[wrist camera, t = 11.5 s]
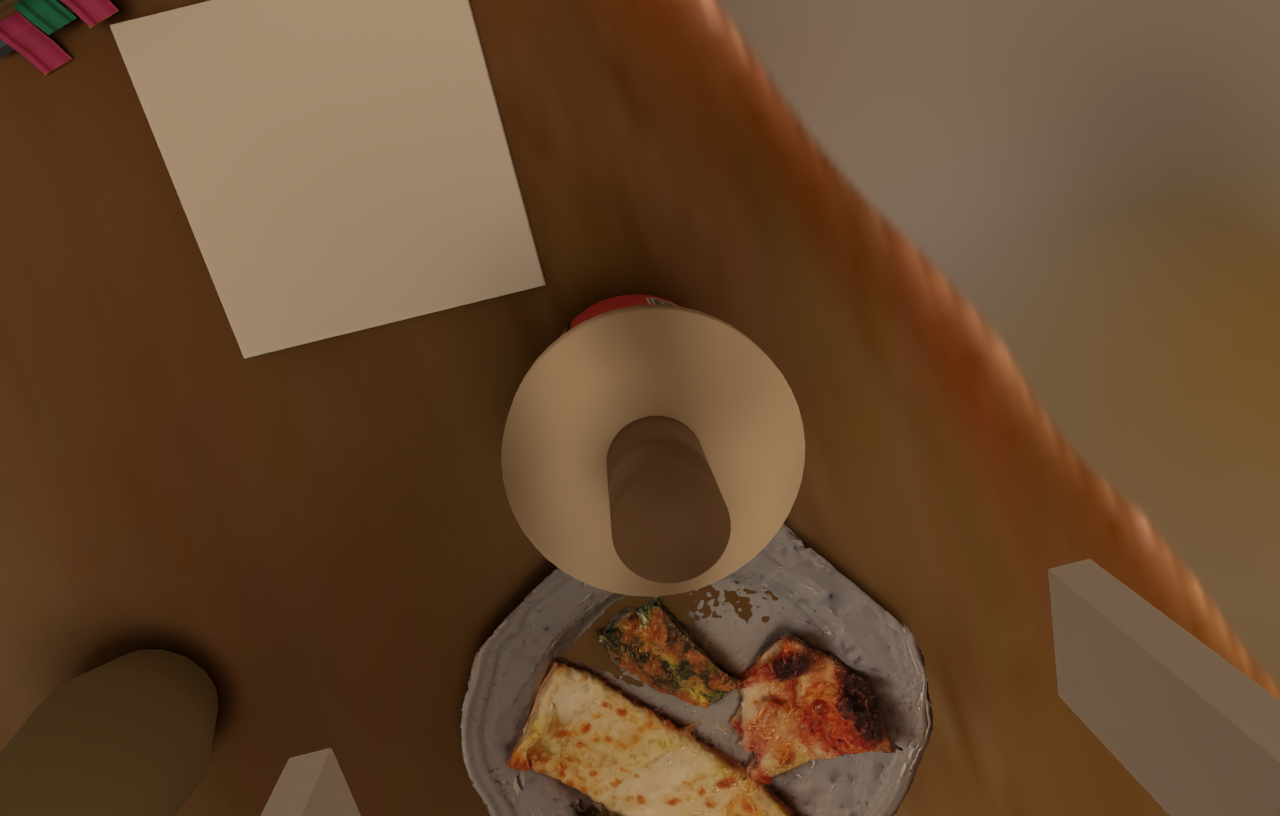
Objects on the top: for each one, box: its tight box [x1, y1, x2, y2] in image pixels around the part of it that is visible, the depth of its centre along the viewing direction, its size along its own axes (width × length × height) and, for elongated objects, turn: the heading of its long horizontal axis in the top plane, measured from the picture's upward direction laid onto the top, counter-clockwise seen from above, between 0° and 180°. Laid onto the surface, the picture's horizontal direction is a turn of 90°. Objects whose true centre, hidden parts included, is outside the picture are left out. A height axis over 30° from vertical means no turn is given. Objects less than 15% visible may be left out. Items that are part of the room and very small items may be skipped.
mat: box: [110, 0, 545, 358], centre depth 33 cm, size 14×14×1 cm
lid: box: [501, 304, 805, 597], centre depth 24 cm, size 10×10×6 cm
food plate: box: [460, 524, 933, 816], centre depth 42 cm, size 25×23×4 cm
